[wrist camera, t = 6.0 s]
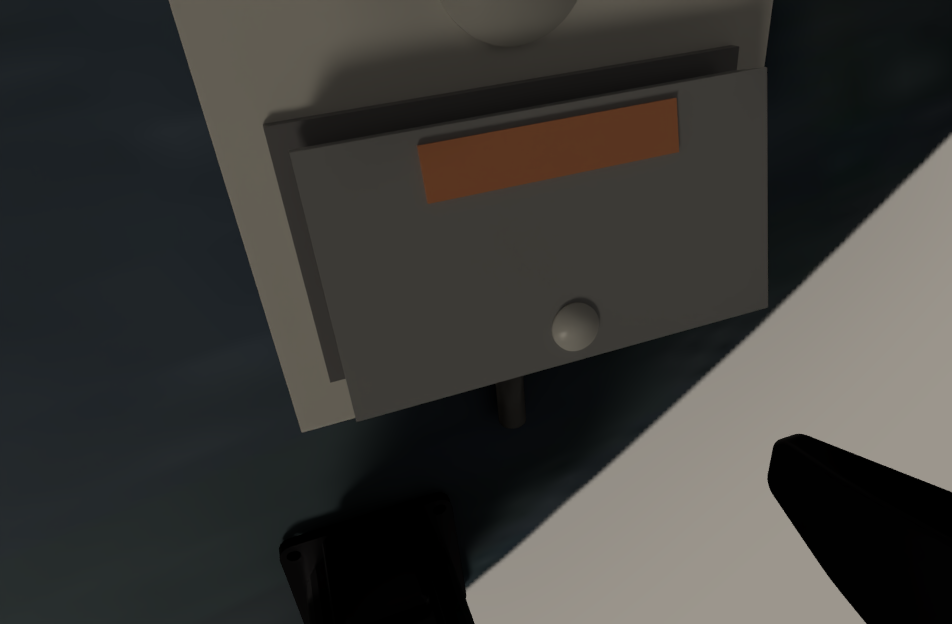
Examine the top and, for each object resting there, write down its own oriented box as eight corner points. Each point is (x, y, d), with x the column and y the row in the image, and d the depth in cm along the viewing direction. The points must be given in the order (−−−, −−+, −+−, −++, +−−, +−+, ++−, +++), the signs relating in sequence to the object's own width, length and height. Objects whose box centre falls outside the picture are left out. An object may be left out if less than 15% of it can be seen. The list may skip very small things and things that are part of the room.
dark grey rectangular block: (738, 295, 18) (771, 308, 17) (350, 400, 16) (357, 424, 14) (733, 70, 16) (770, 66, 15) (288, 150, 14) (290, 153, 12)
